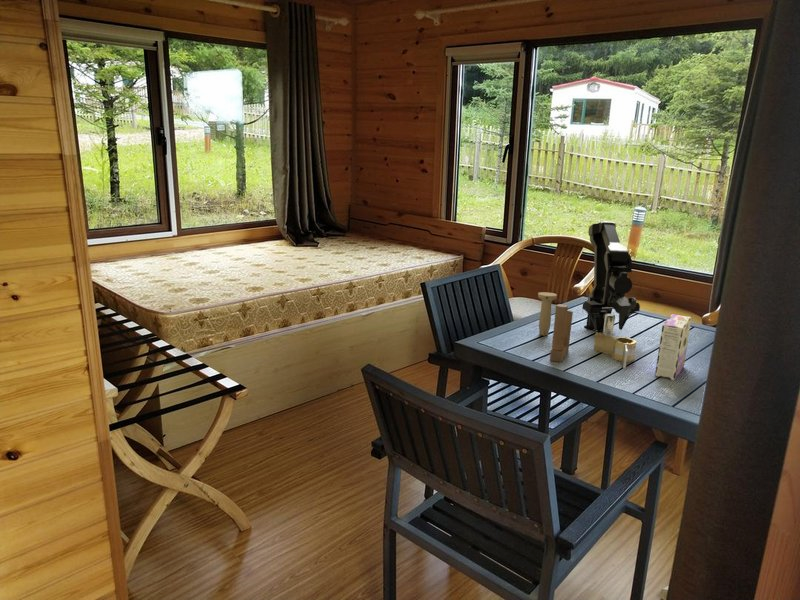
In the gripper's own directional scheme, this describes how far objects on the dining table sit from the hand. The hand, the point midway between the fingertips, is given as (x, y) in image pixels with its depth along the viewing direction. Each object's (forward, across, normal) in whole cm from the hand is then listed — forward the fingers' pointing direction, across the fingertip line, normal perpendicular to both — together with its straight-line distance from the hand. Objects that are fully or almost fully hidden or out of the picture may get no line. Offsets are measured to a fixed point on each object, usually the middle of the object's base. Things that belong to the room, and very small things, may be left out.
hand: (608, 330), depth 207 cm
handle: (+5, -18, +11) cm, 22 cm away
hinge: (+4, -7, -14) cm, 16 cm away
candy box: (+5, +5, -27) cm, 28 cm away
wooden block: (+5, -23, -10) cm, 26 cm away
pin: (+4, 0, 0) cm, 4 cm away
